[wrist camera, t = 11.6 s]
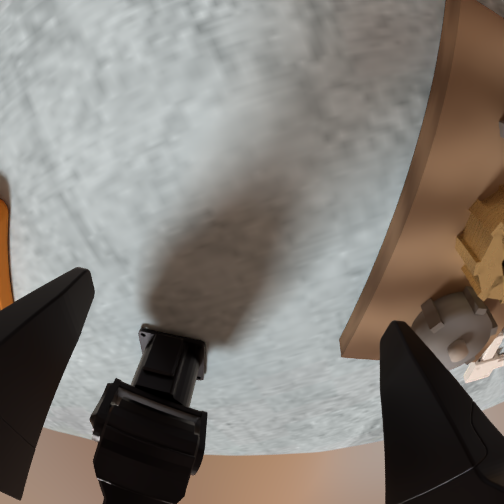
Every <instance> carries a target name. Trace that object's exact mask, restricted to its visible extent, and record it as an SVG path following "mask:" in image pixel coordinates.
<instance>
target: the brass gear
mask: <svg viewBox="0 0 504 504" xmlns="http://www.w3.org/2000/svg"><path fill="white" fill-rule="evenodd" d="M468 210H469V211H470V212H471V214H470V217H469V219H468V221H467V223H466V226H465V228H464V230H463V232H462V234H461V236H457V237H456V245H455V249H456V251H457V252H458V254H459V255H460V257H461V258H462V259H463V262H464V266H463V267H462V268H461V270H462V271H463V273H464V274H465V276H466V278H467V279H468V281H469V282H470V284H471V286H472V287H473V289H474V291H475V292H476V294H477V296H478V297H479V298H480V299H481V300H482V301H483V302H484V301H485V300H486V299H487V298H491V299H498V300H499V302H500V303H501V304H502V303H504V184H501V185H499V190H498V191H497V192H495V193H493V194H492V195H490V196H489V197H487V198H486V199H484V200H482V201H480V200H478V199H477V200H476V201H475V202H474V203H473V205H472V206H471V207H470V208H469V209H468Z"/></svg>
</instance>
